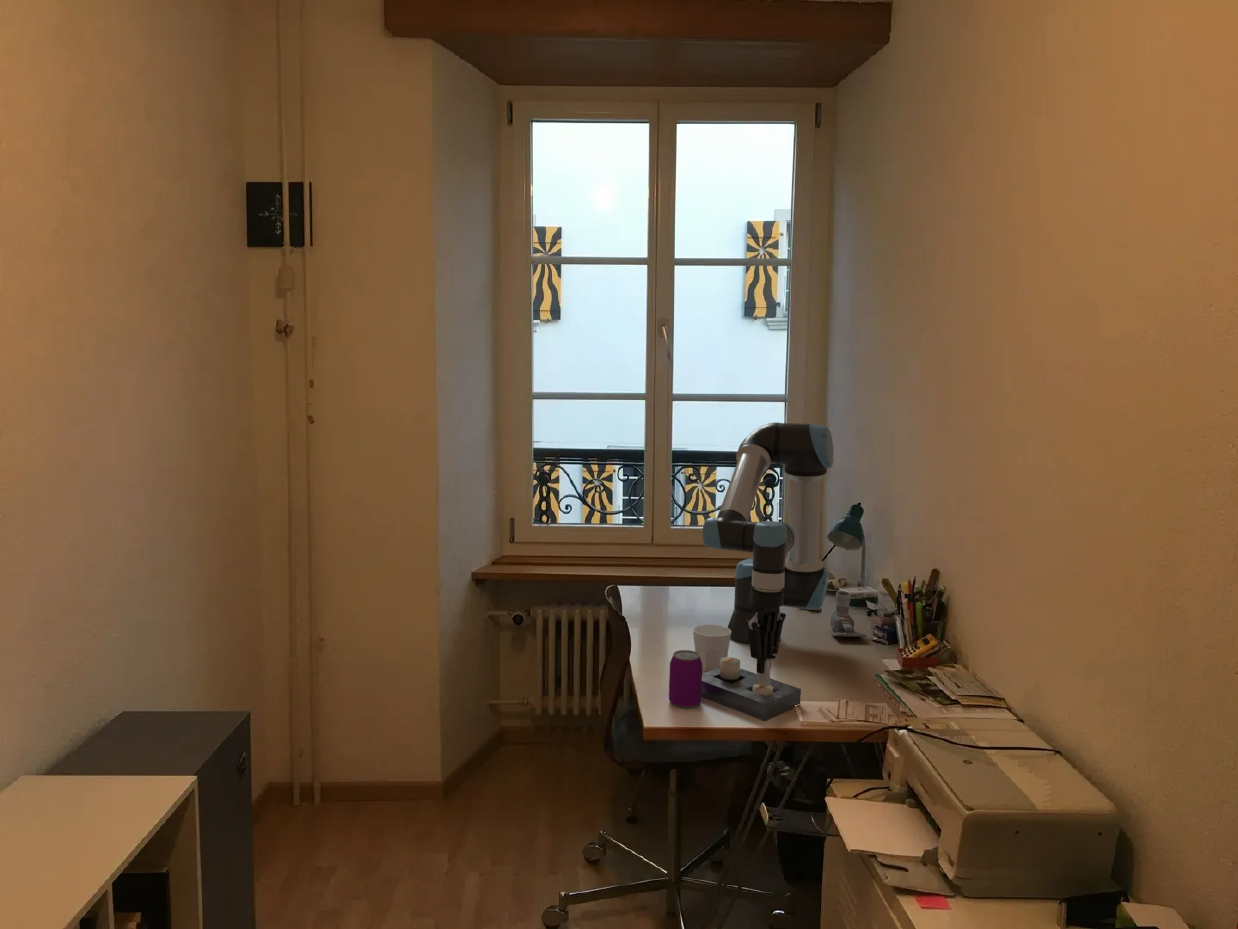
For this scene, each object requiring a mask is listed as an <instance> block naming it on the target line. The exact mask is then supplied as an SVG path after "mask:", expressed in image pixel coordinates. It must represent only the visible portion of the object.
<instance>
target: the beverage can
mask: <svg viewBox="0 0 1238 929" xmlns="http://www.w3.org/2000/svg"><path fill="white" fill-rule="evenodd" d="M702 674H703V670H702V662H701V659H700V655H699V653H697V652H695V650H689V649H688V650H687V649H680V650H676V651H674V652H673V655H672V657H671V659H670V662H669V678H668V679H669V680H668V683H669V684H668V701H669V702H670V703H671V705H672V706H674V707H677V708H680V709H691V708H695V707H697V706H698V705H699V704H700V703H701V700H702V697H701V688H702Z"/></svg>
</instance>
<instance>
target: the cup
mask: <svg viewBox="0 0 1238 929" xmlns="http://www.w3.org/2000/svg"><path fill="white" fill-rule="evenodd" d="M692 631H693V632H692V633H693V643H694V644H693V645H694V651H695V652H697V653H699V655H700V659H701V662H702V669H703V670H702V671H704V670H705V672H708V671H711V670H714V669H716V668H719V667H720V660H721V658H724V657H729V656H728V655H729V648H730V641H731V638H730V636H731V630H730V629H728V628H727V626H724V625H723V626H722V625H718V624H700V625H699V624H698V625H697V626H694V627H693V629H692Z"/></svg>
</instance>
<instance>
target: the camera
mask: <svg viewBox="0 0 1238 929" xmlns="http://www.w3.org/2000/svg"><path fill="white" fill-rule="evenodd" d="M851 594H852V593H850V592H849V591H841V590H840V591H836V593H835V601H836V607H835V608H836V609H835V611H833V612H832V613H831V616H830V626H831V629H832V630H834V632H831V633H830V635H832V636H834V637H835V636H836V637H860V638H861V637H862V638H863V637H864V638H867V634H864V633H860V632H854V631H855V620H854V619H853V618H852V617H851V615H850V614H849V612H850V611H849V610H850V608H849V607H850V603H851Z"/></svg>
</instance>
